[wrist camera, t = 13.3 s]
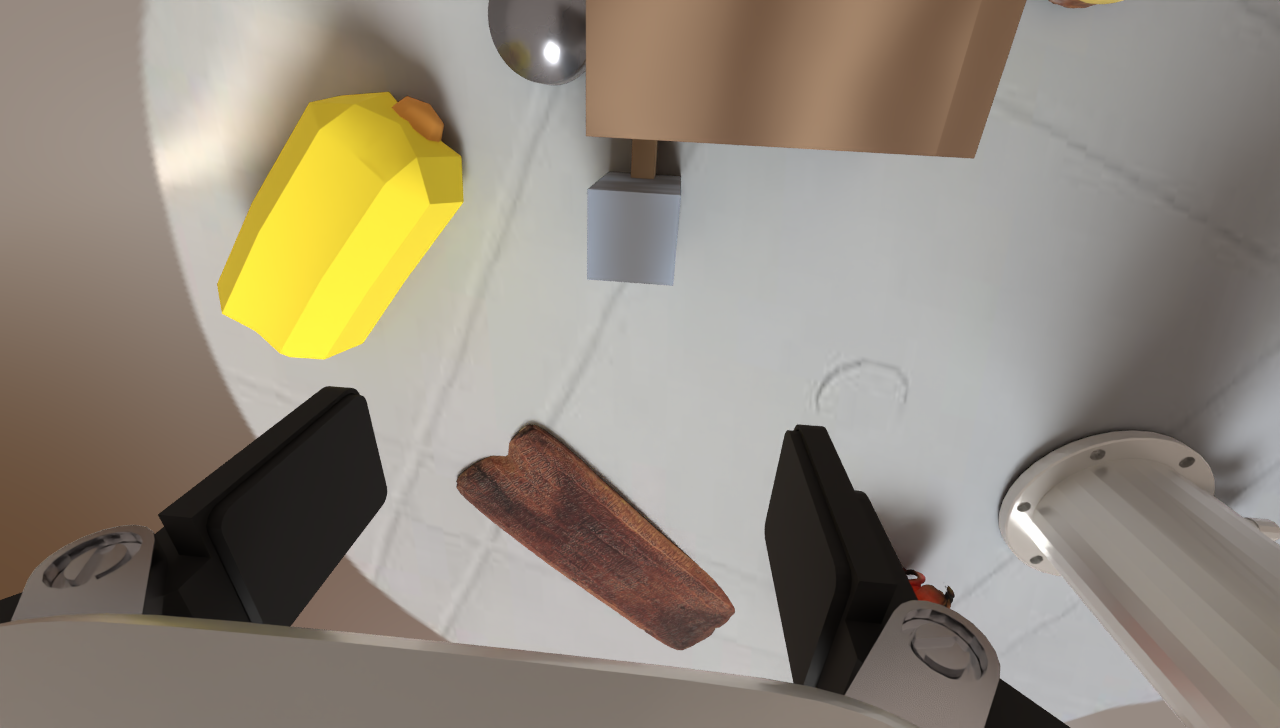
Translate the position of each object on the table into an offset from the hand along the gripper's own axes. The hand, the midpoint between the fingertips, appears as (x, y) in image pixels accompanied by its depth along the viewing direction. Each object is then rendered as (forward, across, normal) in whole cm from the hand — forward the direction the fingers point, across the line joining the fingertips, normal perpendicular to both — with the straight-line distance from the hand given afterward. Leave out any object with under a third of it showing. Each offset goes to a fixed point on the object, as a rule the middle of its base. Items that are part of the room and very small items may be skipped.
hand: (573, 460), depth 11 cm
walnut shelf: (+20, -6, -10) cm, 24 cm away
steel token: (+20, +5, -10) cm, 24 cm away
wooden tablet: (+21, +1, +26) cm, 33 cm away
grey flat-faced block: (+20, 0, -6) cm, 21 cm away
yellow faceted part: (+21, +17, 0) cm, 27 cm away
